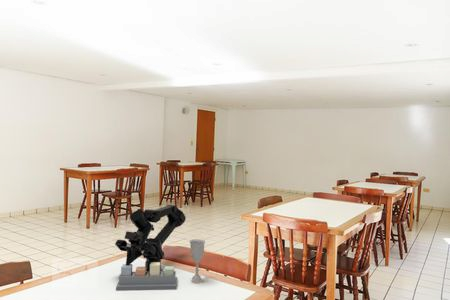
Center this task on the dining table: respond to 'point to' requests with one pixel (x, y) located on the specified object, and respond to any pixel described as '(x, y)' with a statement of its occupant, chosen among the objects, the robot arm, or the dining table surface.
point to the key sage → (168, 270)
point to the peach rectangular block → (141, 271)
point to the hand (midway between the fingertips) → (126, 264)
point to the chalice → (197, 256)
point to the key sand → (155, 269)
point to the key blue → (126, 270)
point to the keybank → (147, 282)
